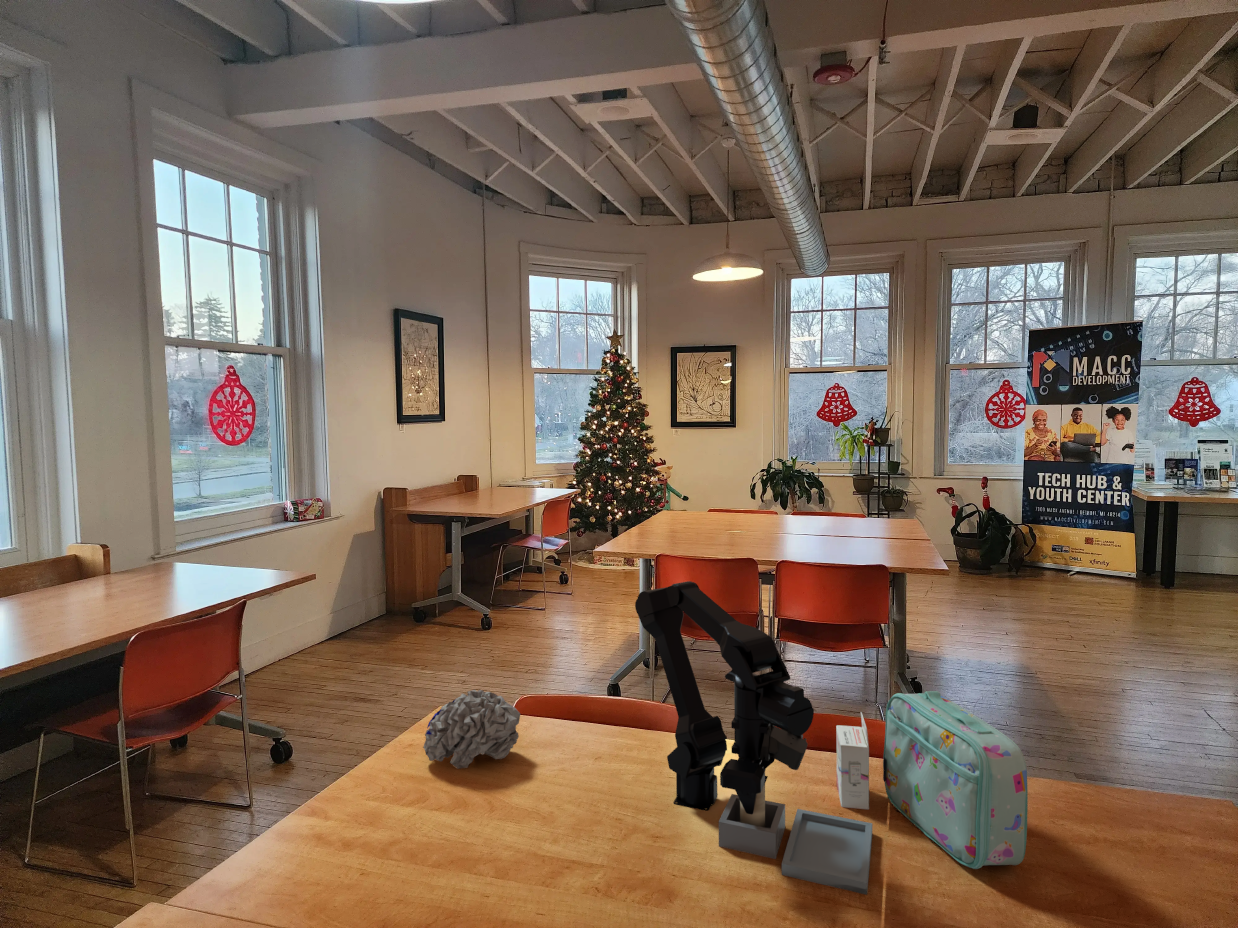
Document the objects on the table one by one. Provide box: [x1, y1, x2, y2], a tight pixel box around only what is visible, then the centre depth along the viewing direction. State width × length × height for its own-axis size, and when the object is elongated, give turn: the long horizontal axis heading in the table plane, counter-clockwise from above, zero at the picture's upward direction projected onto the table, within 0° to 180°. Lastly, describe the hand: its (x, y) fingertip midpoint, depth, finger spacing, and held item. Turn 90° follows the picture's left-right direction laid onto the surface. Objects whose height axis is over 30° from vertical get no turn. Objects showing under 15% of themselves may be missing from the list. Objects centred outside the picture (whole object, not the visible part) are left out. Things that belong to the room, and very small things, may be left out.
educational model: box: [422, 689, 521, 770], centre depth 142 cm, size 14×20×15 cm
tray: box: [781, 808, 873, 896], centre depth 109 cm, size 12×16×2 cm
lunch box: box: [882, 690, 1029, 870], centre depth 115 cm, size 27×10×21 cm, turn 12°
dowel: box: [740, 783, 766, 828], centre depth 113 cm, size 4×4×10 cm
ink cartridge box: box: [835, 711, 870, 810], centre depth 125 cm, size 9×5×15 cm, turn 168°
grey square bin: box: [718, 793, 786, 860], centre depth 113 cm, size 9×9×4 cm
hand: (752, 806), depth 113 cm, fingers closed on dowel, 4 cm apart
